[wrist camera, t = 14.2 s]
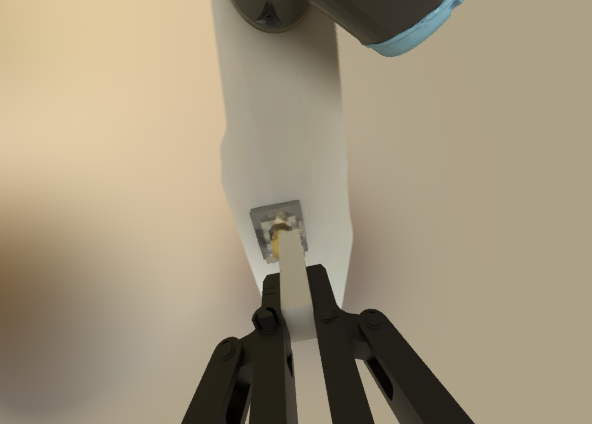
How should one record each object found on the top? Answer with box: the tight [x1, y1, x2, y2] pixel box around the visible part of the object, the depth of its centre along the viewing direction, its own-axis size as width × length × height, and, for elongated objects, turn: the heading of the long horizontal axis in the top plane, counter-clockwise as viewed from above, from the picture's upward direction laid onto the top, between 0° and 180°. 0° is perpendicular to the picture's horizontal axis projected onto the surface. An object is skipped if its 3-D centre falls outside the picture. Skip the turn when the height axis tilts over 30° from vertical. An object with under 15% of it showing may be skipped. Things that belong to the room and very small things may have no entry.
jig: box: [250, 200, 308, 264], centre depth 52 cm, size 14×12×5 cm
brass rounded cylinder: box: [272, 223, 289, 260], centre depth 50 cm, size 4×4×10 cm
